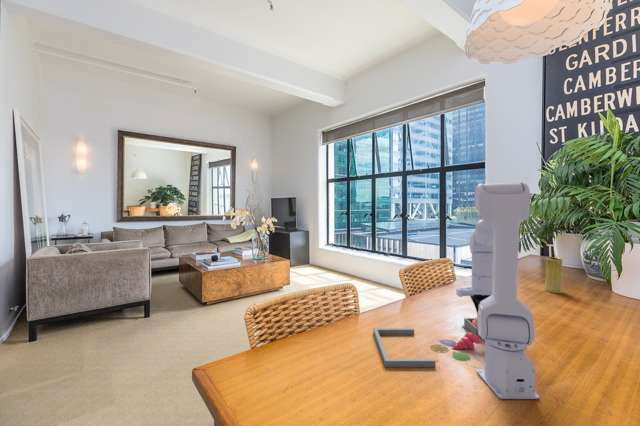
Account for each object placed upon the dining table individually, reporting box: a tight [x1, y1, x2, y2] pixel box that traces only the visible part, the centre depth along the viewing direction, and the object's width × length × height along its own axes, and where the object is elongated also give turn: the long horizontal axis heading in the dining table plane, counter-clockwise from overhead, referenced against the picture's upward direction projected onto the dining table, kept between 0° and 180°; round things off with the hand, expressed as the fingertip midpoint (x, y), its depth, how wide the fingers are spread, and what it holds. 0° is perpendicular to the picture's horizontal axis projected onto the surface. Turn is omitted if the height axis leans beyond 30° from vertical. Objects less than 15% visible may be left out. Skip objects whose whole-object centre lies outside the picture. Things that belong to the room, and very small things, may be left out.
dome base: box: [461, 317, 483, 340], centre depth 87 cm, size 8×8×3 cm
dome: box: [472, 316, 477, 327], centre depth 87 cm, size 5×5×3 cm
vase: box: [544, 256, 564, 294], centre depth 125 cm, size 6×6×14 cm
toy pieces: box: [429, 332, 483, 362], centre depth 78 cm, size 12×11×4 cm
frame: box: [372, 327, 437, 368], centre depth 79 cm, size 18×12×2 cm, turn 179°
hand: (482, 319), depth 87 cm, fingers closed, pressing on dome
